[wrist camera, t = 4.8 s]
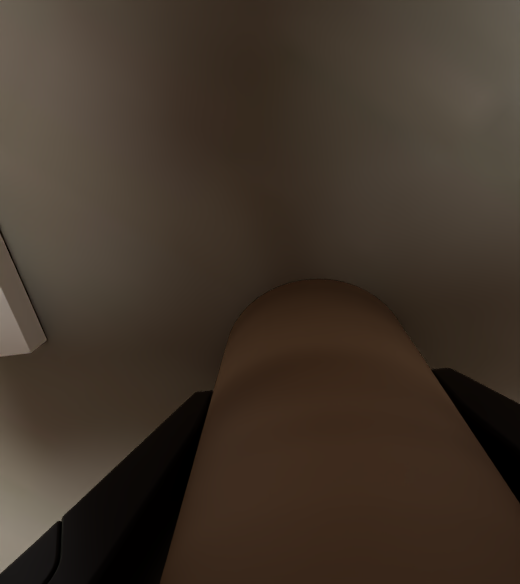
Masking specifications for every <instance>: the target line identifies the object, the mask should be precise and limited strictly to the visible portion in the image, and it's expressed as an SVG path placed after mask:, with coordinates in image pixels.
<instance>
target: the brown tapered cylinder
mask: <svg viewBox="0 0 520 584" xmlns="http://www.w3.org/2000/svg"><path fill="white" fill-rule="evenodd" d="M160 584H520V503H519V501H518V500H517V498H516V497H515V495H514V494H513V492H512V491H511V489H510V488H509V486H508V485H507V483H506V482H505V480H504V479H503V477H502V476H501V474H500V473H499V471H498V470H497V468H496V467H495V465H494V464H493V462H492V461H491V459H490V458H489V456H488V455H487V453H486V452H485V450H484V449H483V447H482V446H481V444H480V443H479V441H478V440H477V438H476V437H475V435H474V434H473V432H472V431H471V429H470V428H469V426H468V425H467V423H466V422H465V420H464V419H463V417H462V416H461V414H460V413H459V411H458V410H457V408H456V407H455V405H454V404H453V402H452V401H451V399H450V398H449V396H448V395H447V393H446V392H445V390H444V389H443V387H442V386H441V384H440V383H439V381H438V380H437V378H436V377H435V375H434V374H433V372H432V371H431V369H430V368H429V366H428V365H427V363H426V362H425V360H424V359H423V357H422V356H421V354H420V353H419V351H418V350H417V348H416V347H415V345H414V344H413V342H412V341H411V339H410V338H409V336H408V335H407V333H406V332H405V330H404V329H403V327H402V326H401V324H400V323H399V321H398V320H397V318H396V317H395V315H394V314H393V313H392V312H391V310H390V309H389V308H388V307H387V306H386V305H385V304H384V303H383V302H382V301H380V300H379V299H378V298H377V297H375V296H374V295H372V294H371V293H369V292H368V291H366V290H363V289H361V288H359V287H357V286H354V285H351V284H348V283H345V282H341V281H335V280H327V279H310V280H301V281H296V282H291V283H288V284H285V285H282V286H279V287H277V288H275V289H273V290H270V291H268V292H267V293H265V294H263V295H262V296H260V297H259V298H257V299H256V300H255V301H254V302H252V303H251V304H250V305H249V306H248V307H247V308H246V309H245V310H244V311H243V312H242V314H241V315H240V316H239V318H238V319H237V321H236V322H235V324H234V326H233V328H232V330H231V332H230V335H229V338H228V341H227V344H226V348H225V352H224V355H223V359H222V362H221V366H220V369H219V373H218V377H217V380H216V384H215V387H214V391H213V395H212V398H211V402H210V405H209V409H208V412H207V416H206V420H205V423H204V427H203V430H202V434H201V437H200V441H199V445H198V448H197V452H196V455H195V459H194V462H193V466H192V470H191V473H190V477H189V480H188V484H187V487H186V491H185V495H184V498H183V502H182V505H181V509H180V513H179V516H178V520H177V523H176V527H175V530H174V534H173V538H172V541H171V545H170V548H169V552H168V555H167V559H166V563H165V566H164V570H163V573H162V577H161V580H160Z"/></svg>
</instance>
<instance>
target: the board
mask: <svg viewBox="0 0 520 584" xmlns="http://www.w3.org/2000/svg"><path fill="white" fill-rule="evenodd" d="M45 341H47V339H46V337H45V334H44V332H43V330H42V328H41V325H40V323H39V321H38V318H37V316H36V314H35V312H34V309H33V307H32V305H31V302H30V300H29V298H28V296H27V293H26V291H25V289H24V286H23V284H22V282H21V280H20V277H19V275H18V273H17V270H16V268H15V266H14V264H13V261H12V259H11V257H10V254H9V252H8V250H7V248H6V245H5V243H4V241H3V238H2V236H1V234H0V357H2V356H10V355H19V354H28V353H32V352H33V351H34V350H36V349H37V348H38V347H39V346H40V345H42V344H43V343H44V342H45Z"/></svg>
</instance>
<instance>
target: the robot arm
mask: <svg viewBox="0 0 520 584" xmlns="http://www.w3.org/2000/svg"><path fill="white" fill-rule="evenodd" d="M431 371H432V372H433V374H434V375H435V377H436V378H437V380H438V381H439V383H440V384H441V386H442V387H443V389H444V390H445V392H446V393H447V395H448V396H449V398H450V399H451V401H452V402H453V404H454V405H455V407H456V408H457V410H458V411H459V413H460V414H461V416H462V417H463V419H464V420H465V422H466V423H467V425H468V426H469V428H470V429H471V431H472V432H473V434H474V435H475V437H476V438H477V440H478V441H479V443H480V444H481V446H482V447H483V449H484V450H485V452H486V453H487V455H488V456H489V458H490V459H491V461H492V462H493V464H494V465H495V467H496V468H497V470H498V471H499V473H500V474H501V476H502V477H503V479H504V480H505V482H506V483H507V485H508V486H509V488H510V489H511V491H512V492H513V494H514V495H515V497H516V498H517V500H518V501H519V503H520V404H519V403H517V402H515V401H513V400H511V399H509V398H507V397H505V396H503V395H501V394H499V393H497V392H495V391H494V390H492V389H490V388H488V387H486V386H484V385H482V384H480V383H478V382H476V381H474V380H472V379H470V378H469V377H467V376H465V375H463V374H461V373H459V372H457V371H455V370H453V369H451V368H440V369H431ZM212 395H213V391H212V390H210V391H200V392H196V393H194V394H193V395H192V396H191V397H190V398H189V399H188V400H187V401H186V402H185V403H183V404H182V405H181V406H180V407H179V408H178V409H177V410H176V411H175V412H174V413H173V414H172V415H171V416H170V417H169V418H167V419H166V420H165V421H164V422H163V423H162V424H161V425H160V426H159V427H158V428H157V429H156V430H155V431H154V432H153V433H151V434H150V435H149V436H148V437H147V438H146V439H145V440H144V441H143V442H142V443H141V444H140V445H139V446H138V447H136V448H135V449H134V450H133V451H132V452H131V453H130V454H129V455H128V456H127V457H126V458H125V459H124V460H123V461H122V462H120V463H119V464H118V465H117V466H116V467H115V468H114V469H113V470H112V471H111V472H110V473H109V474H108V475H107V476H106V477H104V478H103V479H102V480H101V481H100V482H99V483H98V484H97V485H96V486H95V487H94V488H93V489H92V490H91V491H90V492H88V493H87V494H86V495H85V496H84V497H83V498H82V499H81V500H80V501H79V502H78V503H77V504H76V505H75V506H73V507H72V508H71V509H70V510H69V511H68V512H67V513H66V514H65V515H64V516H63V517H62V522H61V521H57V522H56V523H55V524H54V525H53V526H52V527H51V528H50V529H49V530H48V531H47V532H46V533H44V534H43V535H42V536H41V537H40V538H39V539H38V540H37V541H36V542H35V543H34V544H33V545H31V546H30V547H29V548H28V549H27V550H26V551H25V552H24V553H23V554H22V555H20V556H19V557H18V558H17V559H16V560H15V561H14V562H13V563H12V564H11V565H9V566H8V567H7V568H6V569H5V570H4V571H3V572H2V573H1V574H0V584H160V580H161V577H162V573H163V570H164V566H165V563H166V559H167V555H168V552H169V548H170V545H171V541H172V538H173V534H174V530H175V527H176V523H177V520H178V516H179V513H180V509H181V505H182V502H183V498H184V495H185V491H186V487H187V484H188V480H189V477H190V473H191V470H192V466H193V462H194V459H195V455H196V452H197V448H198V445H199V441H200V437H201V434H202V430H203V427H204V423H205V420H206V416H207V412H208V409H209V405H210V402H211V398H212Z"/></svg>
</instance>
